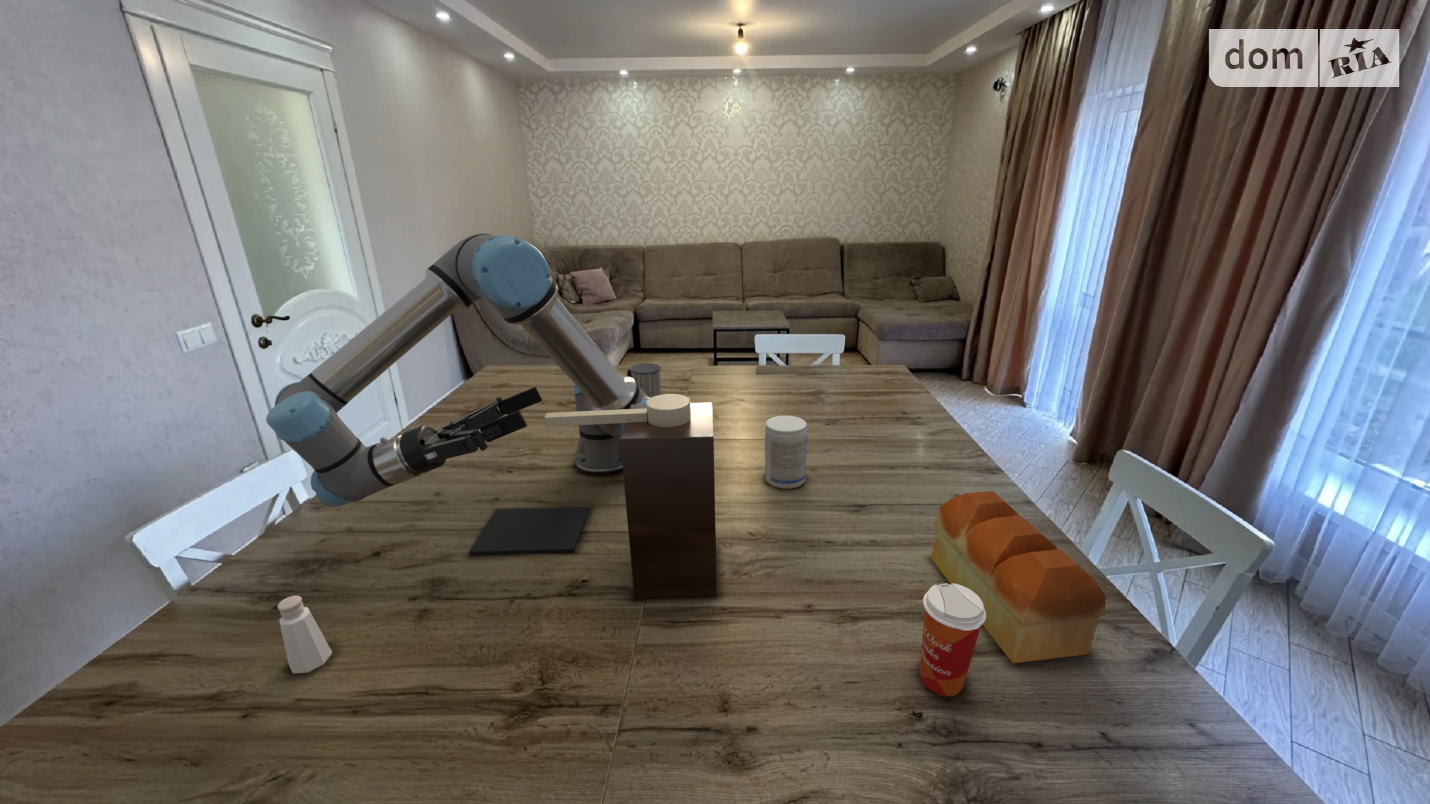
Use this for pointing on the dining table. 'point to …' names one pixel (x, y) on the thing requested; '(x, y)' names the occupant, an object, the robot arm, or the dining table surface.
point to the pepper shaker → (302, 637)
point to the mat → (531, 531)
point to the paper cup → (949, 636)
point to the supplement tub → (785, 451)
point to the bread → (1017, 579)
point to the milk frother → (647, 378)
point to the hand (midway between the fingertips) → (531, 405)
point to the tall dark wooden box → (671, 506)
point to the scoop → (631, 414)
